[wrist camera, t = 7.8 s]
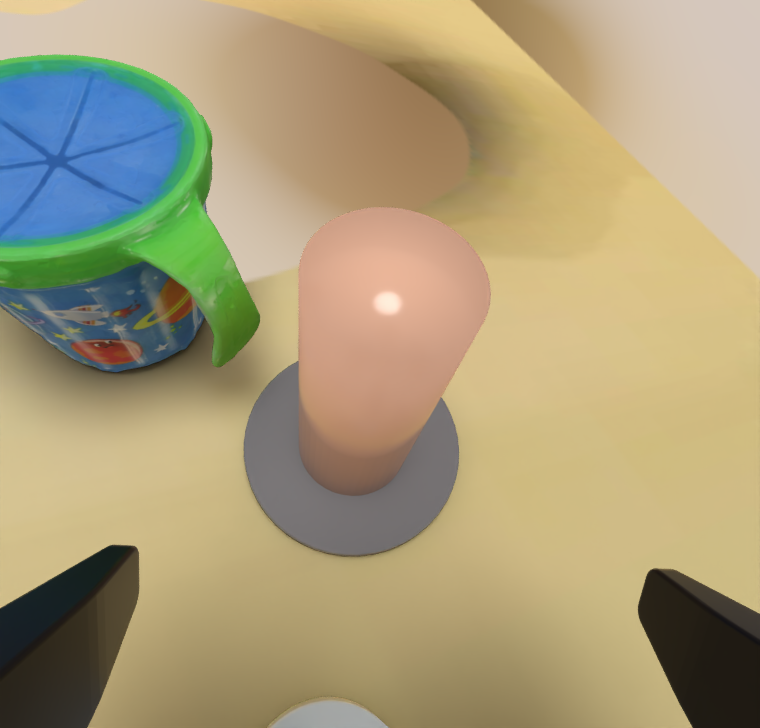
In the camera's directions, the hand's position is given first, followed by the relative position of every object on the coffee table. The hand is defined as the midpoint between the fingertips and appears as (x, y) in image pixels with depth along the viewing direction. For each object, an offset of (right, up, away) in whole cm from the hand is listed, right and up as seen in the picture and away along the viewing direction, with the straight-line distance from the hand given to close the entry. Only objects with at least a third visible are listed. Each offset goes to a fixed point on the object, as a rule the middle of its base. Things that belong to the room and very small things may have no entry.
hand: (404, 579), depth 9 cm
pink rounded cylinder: (-2, 0, +14) cm, 15 cm away
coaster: (-2, 0, +15) cm, 15 cm away
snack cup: (-13, +6, +17) cm, 23 cm away
